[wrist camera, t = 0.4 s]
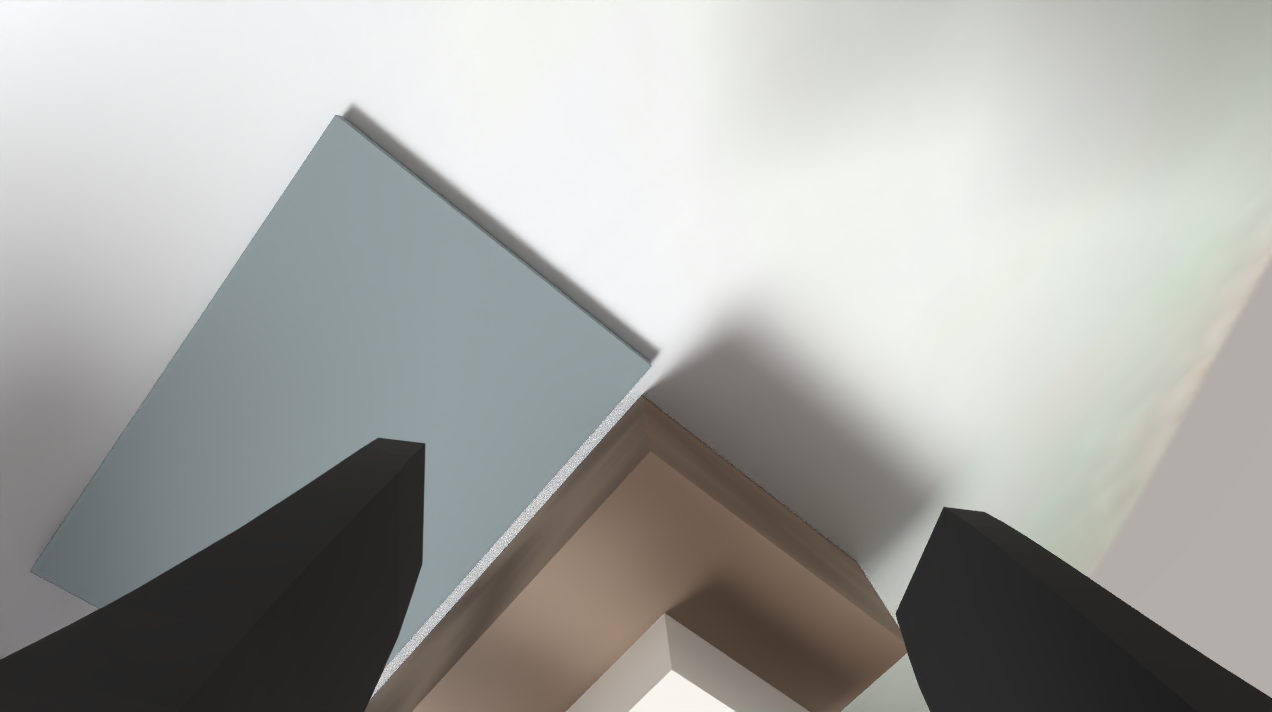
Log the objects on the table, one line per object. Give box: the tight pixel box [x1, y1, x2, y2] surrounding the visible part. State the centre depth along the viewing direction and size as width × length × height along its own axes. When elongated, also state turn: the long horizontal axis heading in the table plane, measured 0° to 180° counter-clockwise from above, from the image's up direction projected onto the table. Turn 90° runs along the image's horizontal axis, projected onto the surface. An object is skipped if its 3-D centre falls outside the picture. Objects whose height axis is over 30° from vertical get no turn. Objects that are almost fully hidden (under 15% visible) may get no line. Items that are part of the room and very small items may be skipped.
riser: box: [364, 395, 907, 712], centre depth 20 cm, size 16×10×4 cm, turn 140°
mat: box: [30, 115, 651, 667], centre depth 19 cm, size 18×11×1 cm, turn 140°
